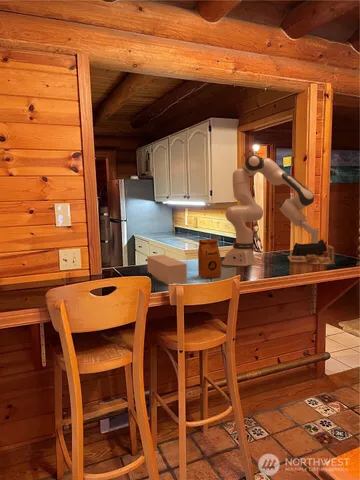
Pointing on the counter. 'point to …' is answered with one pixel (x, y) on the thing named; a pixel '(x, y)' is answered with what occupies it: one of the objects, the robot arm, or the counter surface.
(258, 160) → the robot arm
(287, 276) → the counter surface
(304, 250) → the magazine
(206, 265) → the coffee package
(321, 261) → the rack
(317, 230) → the board
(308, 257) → the oak offcut
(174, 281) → the pinkish brown block
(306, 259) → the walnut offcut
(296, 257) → the tray
